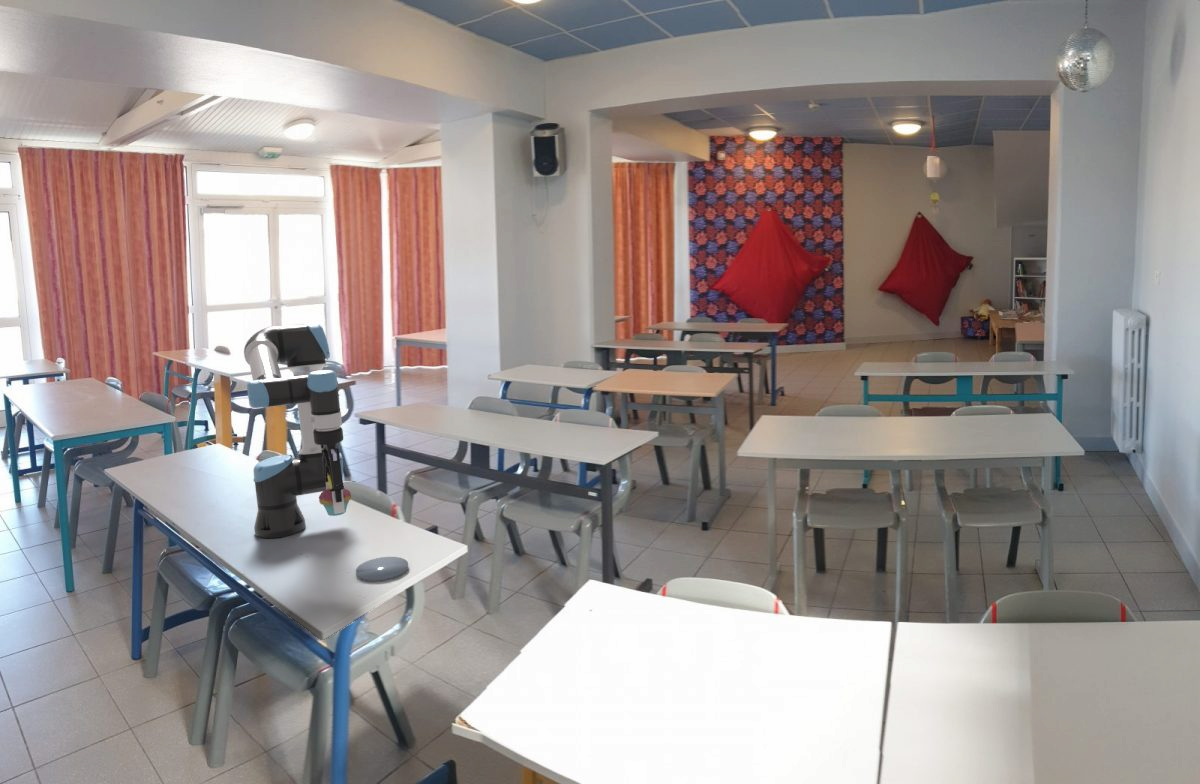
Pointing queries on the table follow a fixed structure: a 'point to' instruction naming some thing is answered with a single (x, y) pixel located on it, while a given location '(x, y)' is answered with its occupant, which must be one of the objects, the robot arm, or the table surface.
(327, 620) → the table surface
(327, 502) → the cupcake
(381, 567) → the slate plate
